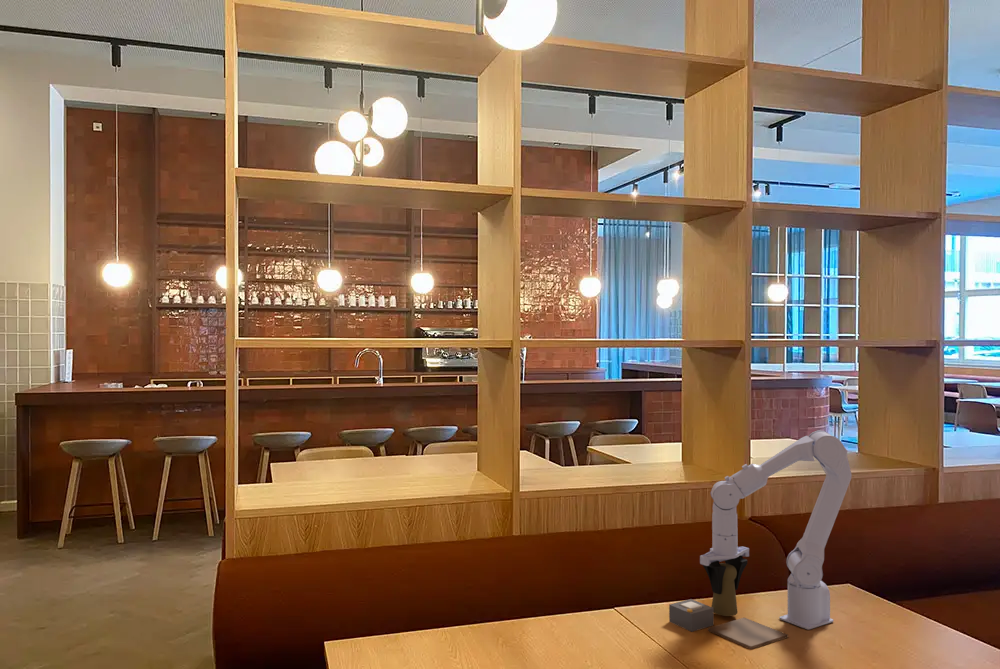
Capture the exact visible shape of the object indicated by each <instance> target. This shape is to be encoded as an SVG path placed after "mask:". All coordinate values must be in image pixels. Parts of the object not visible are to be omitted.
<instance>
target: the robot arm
mask: <svg viewBox="0 0 1000 669" xmlns="http://www.w3.org/2000/svg"><path fill="white" fill-rule="evenodd" d="M848 458H849V457H848V450H847V449H846V447H845V445H844V444H843V442H842V441H841V440H840V439H839V438H837V437H836V436H834V435H832V434H830V433H829V432H828V431H824V430H816V431H813V432H810V434H809V435H805V436H802V437H801V438H799V439H798V440H796V441H794V442H793V443H791V444H790V445H787V447H785V448H784V449H782V450H780V451H779V452H778V453H776V454H774V455H773V456H771V457H770V458H768V459H767V460H765V461H764V462H763V463H761V464H756V463H750V464H749V465H748V463H745V464H743V465H742V466H741V468H742V469H740V470H739V471H737V472H736V473H733V474H732V475H731V476H729V475H726V476H724V480H721V481H720V480H719V481H717V482H715V483H714V484H713V486H712V487H711V491H710V496H711V499H712V500H713V502H712V512H711V516H712V517H711V530H712V531H711V532H712V534H711V535H712V537H711V538H712V541H711V542H712V543H711V544H712V546H711V548H709V551H708V552H706V553H704V554H701V555H699V564H700V565H702V567H703V568H704V570H705V573H707V574H706V575H707V576H708V579H709V583H710V585H711V591H712V593H713V594H714V593H716V594H721V593H722V582H723V576H724V572H725V569H726V567H725V566H722V565H721V564H720V562H721V563H722V562H725V563H726V564H730V565H733V566H734V567H735V568H736V571H737V575H736V578H735V579H734V584H735V591H738V588H739V586H740V581H741V579H742V578H741V577H742V574H743V572H744V570H745V568H746V566H748V559H746V558H744V557H750V548H749V547H746V546H738V542H739V541H738V535H739V534H738V513H737V506H739V502H740V500H741V499H745V498H746V497H748V496H750V495H751V494H754V493H755V492H757V491H758V490H760V489H762V488H763V487H765V486H766V485H767V483H768V479H769V477H771V476H773V475H775V474H777V473H779V472H780V471H782V470H785V469H786V468H788V467H790V466H792V465H793V464H796V463H797V462H801V461H803V462H815V460H816V461H818V463H819V465H820V467H821V468H822V469H823V472H824V474H825V478H824V481H823V483H822V486H821V488H820V492H819V494H818V496H817V499H816V501H815V505H814V506H813V509H812V511H811V514H810V517H809V520H808V523H807V525H806V527H805V530H804V532H803V535H802V537H801V538H800V540H798V542H797V543H796V545H795V547H794V549H793V550H791V551H790V552H789V553H788V555H787V557H786V566H787V568H788V570H789V571H790V572H791V573H790V575H789V576H788V578H787V614H784V615H781V616H779V617H778V618H779V620H781V621H784V622H786V623H789V624H792V625H793V626H797V627H800V628H802V629H805V630H812V629H815V628H818V627H822V626H824V625H828V624H831V623H833V622H834V619H833V618H831V592H830V589H829V587H828V585H827V584H826V583H825V582H824V581H823V580H822V579H823V576H824V573H823V564H824V561H825V548H826V545H827V543H828V540H829V537H830V534H831V532H832V530H833V527H834V524H835V522H836V519H837V517H838V514H839V512H840V508H841V506H842V504H843V501H844V499H845V496H846V493H847V491H848V488H849V485H850V483H851V480H852V476H853V474H852V470H851V467H850V466H851V465H850V461H849V459H848Z"/></svg>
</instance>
